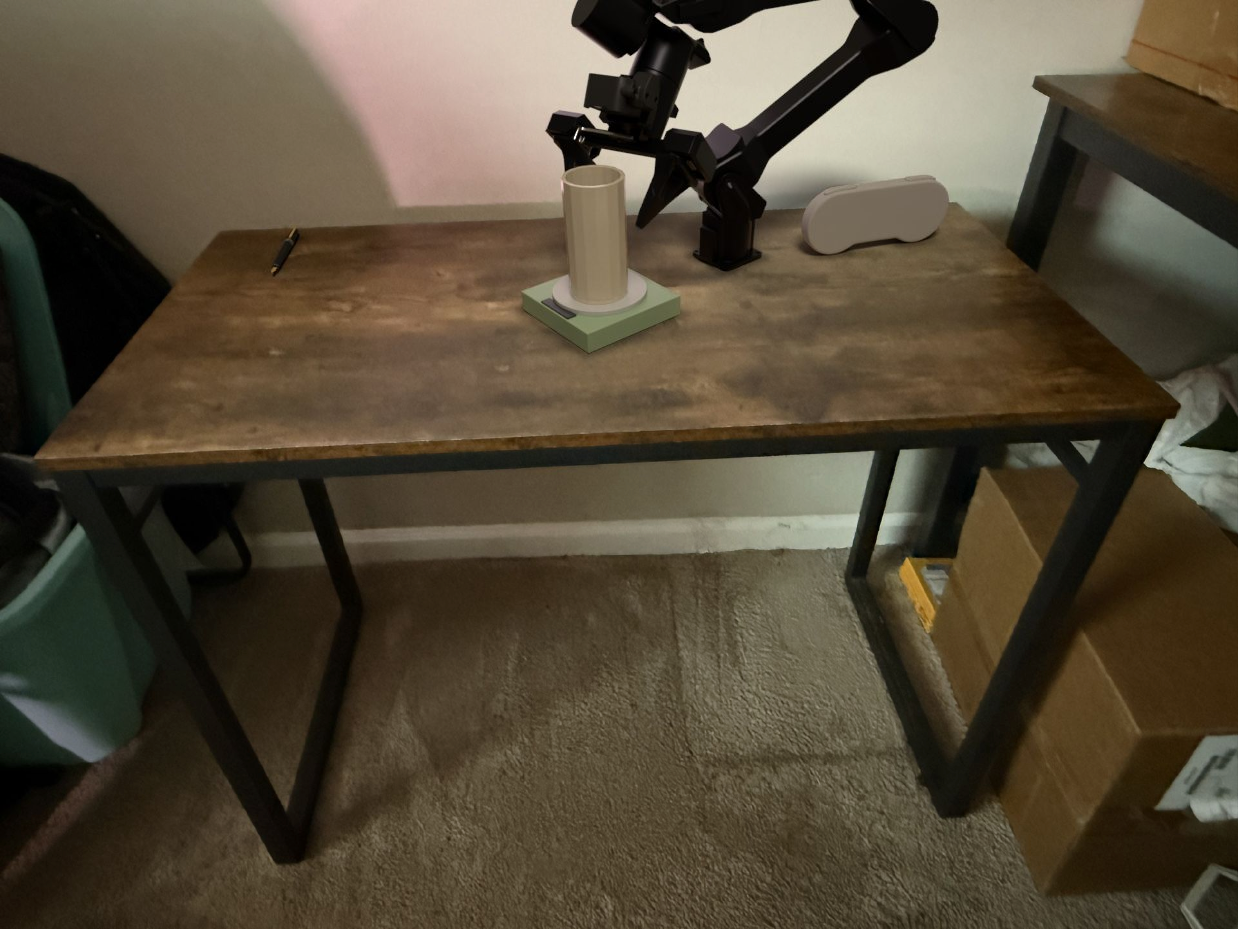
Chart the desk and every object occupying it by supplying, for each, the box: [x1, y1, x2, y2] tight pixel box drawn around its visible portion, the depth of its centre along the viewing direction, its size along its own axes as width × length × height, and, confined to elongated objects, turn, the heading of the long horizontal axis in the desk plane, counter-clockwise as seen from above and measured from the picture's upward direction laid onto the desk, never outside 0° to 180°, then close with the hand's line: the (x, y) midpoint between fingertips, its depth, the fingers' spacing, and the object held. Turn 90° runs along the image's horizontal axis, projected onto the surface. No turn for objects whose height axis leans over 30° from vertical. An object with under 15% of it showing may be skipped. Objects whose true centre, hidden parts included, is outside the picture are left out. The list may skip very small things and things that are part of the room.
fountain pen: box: [270, 226, 299, 274], centre depth 108 cm, size 14×1×2 cm, turn 5°
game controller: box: [800, 174, 950, 255], centre depth 102 cm, size 20×2×8 cm, turn 105°
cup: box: [560, 164, 629, 305], centre depth 87 cm, size 6×6×13 cm
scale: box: [520, 267, 681, 354], centre depth 92 cm, size 13×13×3 cm
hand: (601, 219), depth 86 cm, fingers open, 9 cm apart
